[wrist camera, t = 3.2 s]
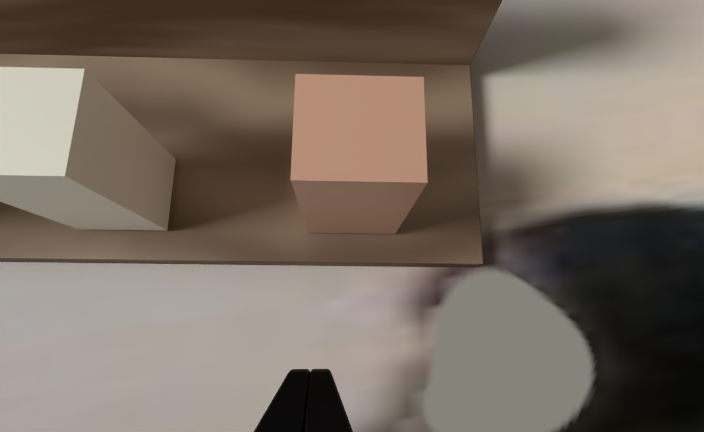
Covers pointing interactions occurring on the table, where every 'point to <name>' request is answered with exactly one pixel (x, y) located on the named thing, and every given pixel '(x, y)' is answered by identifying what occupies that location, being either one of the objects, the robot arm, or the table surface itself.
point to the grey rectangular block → (79, 153)
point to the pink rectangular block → (358, 151)
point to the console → (256, 121)
